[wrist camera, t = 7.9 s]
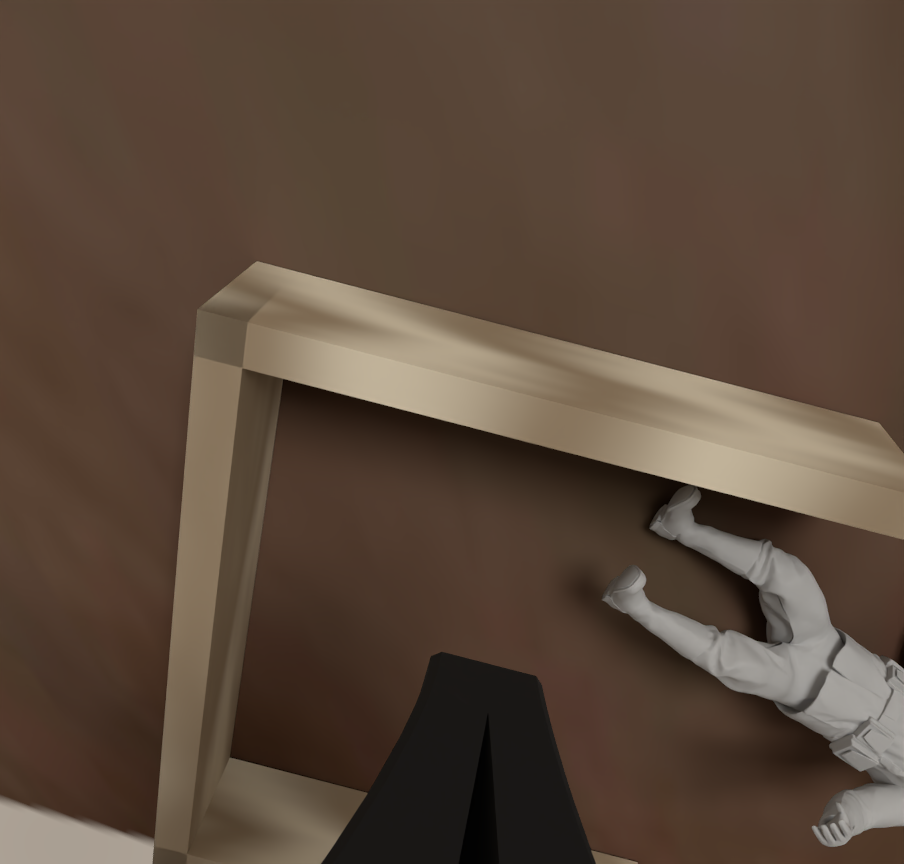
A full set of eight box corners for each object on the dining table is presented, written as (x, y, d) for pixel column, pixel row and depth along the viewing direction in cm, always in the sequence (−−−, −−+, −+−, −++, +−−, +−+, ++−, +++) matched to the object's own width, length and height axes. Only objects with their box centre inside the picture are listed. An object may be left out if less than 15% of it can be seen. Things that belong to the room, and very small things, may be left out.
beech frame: (198, 769, 27) (152, 866, 24) (256, 261, 19) (197, 309, 16) (627, 880, 27) (636, 990, 24) (879, 423, 19) (942, 502, 16)
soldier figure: (750, 388, 20) (1210, 692, 18) (683, 452, 24) (1045, 701, 23) (578, 646, 17) (1092, 1032, 16) (540, 664, 22) (933, 964, 20)
